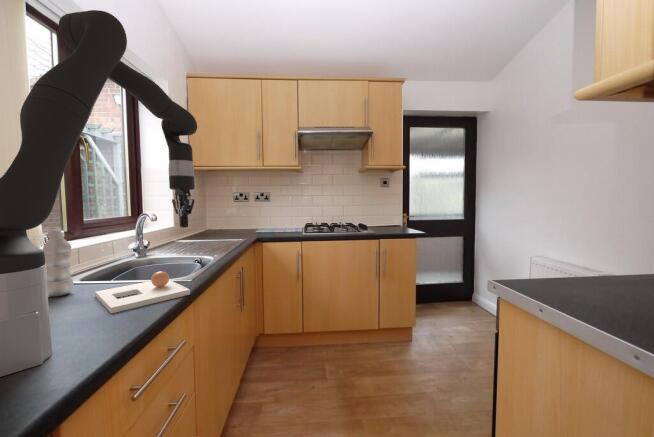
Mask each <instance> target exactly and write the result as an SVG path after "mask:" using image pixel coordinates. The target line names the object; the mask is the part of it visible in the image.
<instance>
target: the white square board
mask: <svg viewBox="0 0 654 437" xmlns="http://www.w3.org/2000/svg"><path fill="white" fill-rule="evenodd" d="M133 294H134V295H133ZM94 295H95V298H97V300H98V302H100V303H101V304H102V305H103V306H104V308H106V309H107V311H108V312H109V313H110V314H115V313H118V312H123V311H127V310H132V309H136V308H140V307H143V306H147V305H152V304H155V303H160V302H164V301H168V300H169V301H170V300H172V299H176V298H180V297H184V296H189V295H191V290H190V289H189V288H187V287H185V286H183V285H181V284H179V283H177V282H175V281H172V280H171V279H169V281H168V283H167V284H166V285H165V286H163V287H155V286H154V285H153V284H152V282H151V280H150V281H144V282H139V283H134V284H128V285H124V286H118V287H112V288H109V289H108V288H107V289H103V290H97V291H94ZM128 295H129V296H128ZM123 296H124V297H123ZM117 297H120V298H117Z"/></svg>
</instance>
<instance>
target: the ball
mask: <svg viewBox="0 0 654 437" xmlns="http://www.w3.org/2000/svg"><path fill="white" fill-rule="evenodd" d="M150 278H151V279H150V281H151V282H152V284H153V285H154V286H155V287H163V286H165V285H166V284H167V283H168V281H169V280H170V276H169V273H167V272H165V271H161V270H160V271H156V272H154V273H153V274H152V276H151V277H150Z"/></svg>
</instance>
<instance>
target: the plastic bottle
mask: <svg viewBox="0 0 654 437" xmlns="http://www.w3.org/2000/svg"><path fill="white" fill-rule="evenodd" d="M65 237H66V235H65V230H51V231H50V230H49V231H47V238H48V240H47V241H45V244H44V245H43V247H42V248H41V249H42V250H43V251H44V254H45V263H46V277H47V292H48V297H62V296H65V295H69V294H71V293H72V292H73V290H74V287H75V285H74V284H75V283H74V281H73V278H72V272H71V254H72V245H71V244H70V242H69V241H67V239H65Z"/></svg>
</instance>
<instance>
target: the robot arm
mask: <svg viewBox="0 0 654 437" xmlns="http://www.w3.org/2000/svg"><path fill="white" fill-rule="evenodd" d="M58 30H59V34H60V36H61V38H62V40H63V42H64V43H65V45H66V46H67V47H69V49H70V50H71V51H72V53H71V54H69V55H68V56H67V57H66V58H64V59H63V60H62V61H60V62H59V63H57V64H56V65H54V66H53V67H51V68H50V69H48V71H46V72H45V73H44V74H42V76H40V77H39V78H38V80H36V82H35V83H34V85H32V88H31V89H30V91H29V93H28V94H27V97H26V98H25V99H24V100H23V101H24V102H23V104H22V106H21V109H20V114H19V124H20V130H21V141H20V145H19V146H20V147H19V150H18V152H17V154H16V156H15V158H14V159H13V161H12V162H11V164H10V165H9V167H8V168H7V170H6V171H5V172H4V173H3V175H2V176H1V177H0V378H1V377H4V376H8V375H11V374H14V373H17V372H21V371H24V370H27V369H30V368H31V369H32V368H33V367H38V366H40V365H43V364H44V362H45V360H47V359H49V358H50V356H52V354H53V345H52V333H51V332H52V331H51V321H50V307H49V305H50V304H49V296H48V292H47V277H46V273H47V270H46V268H47V267H46V263H45V254H44V251H43V250H42V249H43V248H40V247H39V246H37V245H35V244H34V243H33V242H32V241H31V240H30V238H29V237H28V233H27V231H28V230H32V229H34V228H37V227H39V226H40V225H42V224H43V223H44V222H45V221H46V220H47V219H48V218H49V216H50V214H51V213H52V210H53V209H54V205H55V203H56V200H57V196H58V193H59V191H60V186H61V183H62V180H63V176H64V173H65V171H66V168H67V165H68V163H69V161H70V159H71V157H72V155H73V153H74V150H75V147H76V145H77V143H78V141H79V138H80V137H81V134H82V133H83V131H84V129H85V127H86V125H87V123H88V121H89V119H90V117H91V116H92V113H93V110H94V107H95V104H96V103H97V100H98V99H99V96H100V94H101V93H102V91H103V89H104V87H105V85H106V82H107V81H108V79H110V80H111V81H113V83H115V84H117V85H119V86H120V87H121V88H122V89H124V90H125V91H127V92H128V93H129V94H130V95H131V96H133V97H134V98H135V99H136V100H137V101H139V103H141V104H142V105H143V106H144V107H145V108H146V109H147V110H148V111H149V112H150V113H151V114H152V115H153V116H154V117H156V118H157V119H160V120H161V124H160V125H161V130H162V133H163V136H164V138H165V142H166V145H167V148H168V161H169V162H168V182H169V184H168V186H169V190H173V191H174V199H171V203H172V205H173V208H174V209H173V210H174V211H175V214H176V215H178V217H179V219H178V220H179V228H182V229H183V228H189V216H190V215H192V212H193V208H194V204H195V202H196V201H195V199H194V198H192V195H191V194H192V193H191V190H195V187H196V185H195V167H194V160H193V157H194V156H193V148H192V145H191V144H189V143H187V142H184V141H183V142H182V140H181V138H180V136H183V137H184V136H185V137H186V136H193V135H194V134H195V133H196V132H197V130H198V122H197V120H196V118H195V117H194V115H193V114H192V113H191V112H190V111H188V110H187V109H185V108H184V107H183V106H181V105H180V104H179V103H176V102H175V101H173V100H172V98H171V97H170V96H169V95H168V94H167V93H166V92H165V91H164V89H162V87H160V86H159V85H158V84H157V83H156V82H155V81H154V80H152V79H150V77H147V76H145V74H142V73H141V72H139V71H137V70H135V69H134V68H132V67H131V66H129V65H127V64H126V63H125V62H123V61H122V58H123V57H124V55H125V52H126V50H127V47H128V46H127V45H128V37H127V33H126V30H125V27H124V26H123V23H122V22H121V21H120V20H119V19H118V18H117V17H116V16H114V15H113V14H111V13H110V12H107V11H104V10H97V9H91V10H85V11H76V12H70V13H69V12H68V13H66V14H63V15H62V16H61V17H60V18H59V20H58Z"/></svg>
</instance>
